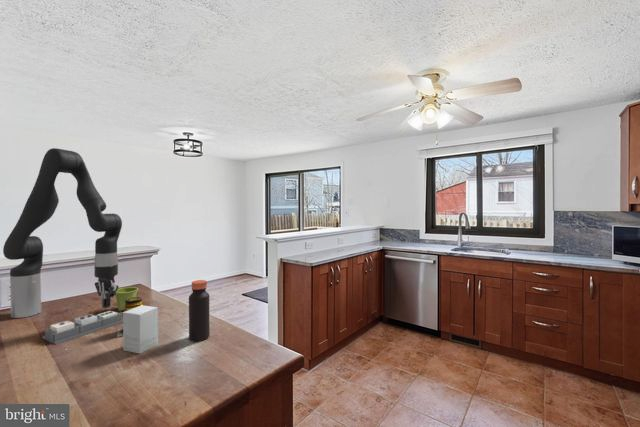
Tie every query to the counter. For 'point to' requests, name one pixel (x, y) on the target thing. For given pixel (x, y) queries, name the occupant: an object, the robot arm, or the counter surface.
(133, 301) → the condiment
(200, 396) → the counter surface
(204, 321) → the bottle
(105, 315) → the tile three
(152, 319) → the supplement box
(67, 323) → the tile one
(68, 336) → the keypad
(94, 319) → the tile two
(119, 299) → the plant pot
